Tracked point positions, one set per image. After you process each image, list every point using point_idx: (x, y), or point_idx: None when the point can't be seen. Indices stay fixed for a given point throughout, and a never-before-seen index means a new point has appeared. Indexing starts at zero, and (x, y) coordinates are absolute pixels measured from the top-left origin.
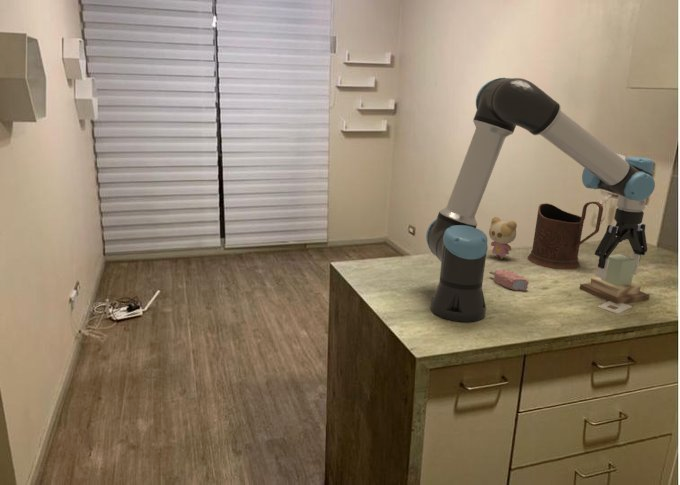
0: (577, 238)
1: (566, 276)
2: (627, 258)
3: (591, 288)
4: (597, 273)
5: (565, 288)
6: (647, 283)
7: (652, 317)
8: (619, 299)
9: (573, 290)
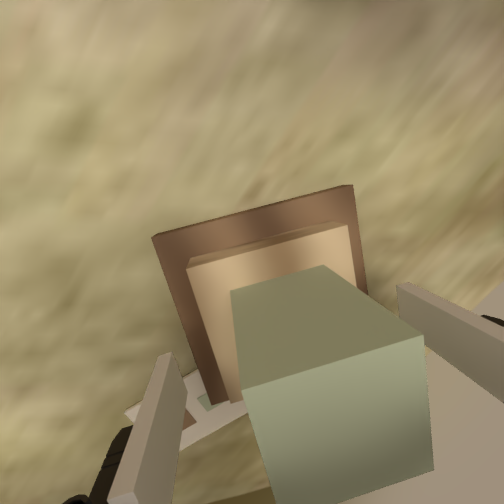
0: None
1: (183, 52)
2: (391, 446)
3: (177, 290)
4: (154, 371)
5: (86, 226)
6: (500, 191)
7: (264, 467)
8: (225, 397)
9: (115, 251)
